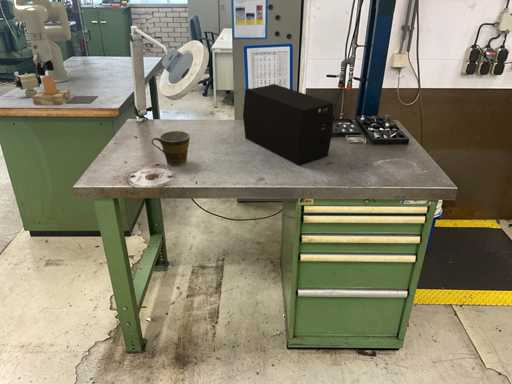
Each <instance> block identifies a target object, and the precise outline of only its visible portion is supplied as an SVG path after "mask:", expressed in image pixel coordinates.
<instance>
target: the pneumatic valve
mask: <svg viewBox="0 0 512 384" xmlns="http://www.w3.org/2000/svg"><path fill="white" fill-rule="evenodd" d="M13 82H14V85H15V88H16V89H17V88H19V89H20V90H23V91H24V90H25V91H24V94H25V96H26V97H28V98H32V97H33V96H34V95H36V94H37V93H38V91H37V89H35V88H40V87H41V85H42V84H43V82H42V77H41V76H39V75H38V74H37V73H35V72H33V73H27V72H25V73H24V74H21V75H20V74H19V75H15V78H13Z"/></svg>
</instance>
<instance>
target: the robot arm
mask: <svg viewBox="0 0 512 384" xmlns="http://www.w3.org/2000/svg"><path fill="white" fill-rule="evenodd" d="M30 2H32V4H29V3H30ZM12 8H13V15H14V19H16V21H18V22H19V23H25V27H26V31H27V33H28V34H27V35H28V38H29V41H30V45H31V51H32V56H33V59H32V61H33V63H34V65H35V68H36V70H37V73H38V74H37V76H38V75H39V76H40V77H41V76H42V77H44V76H53V77H54V81H55V84H56V83H57V84H58V83H59V84H60V83H65V82H68V81H70V79H71V77H70V76H68V75H67V73H68V71H67V70H66V68H65V64H64V59H63V53H62V49H61V48H60V46H59V45H58V44H57V43H56V42H64V41H70V40H71V39H72V32H71V27H70V21H69V18H68V13H67V9H66V6H65V4H64V3H63V2H61V1H50V0H12ZM47 21H58V22H48V23H47ZM44 63H45V66H44ZM43 66H44V67H43ZM45 67H46V71H47V73H46V71H45ZM46 74H47V75H46Z"/></svg>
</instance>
